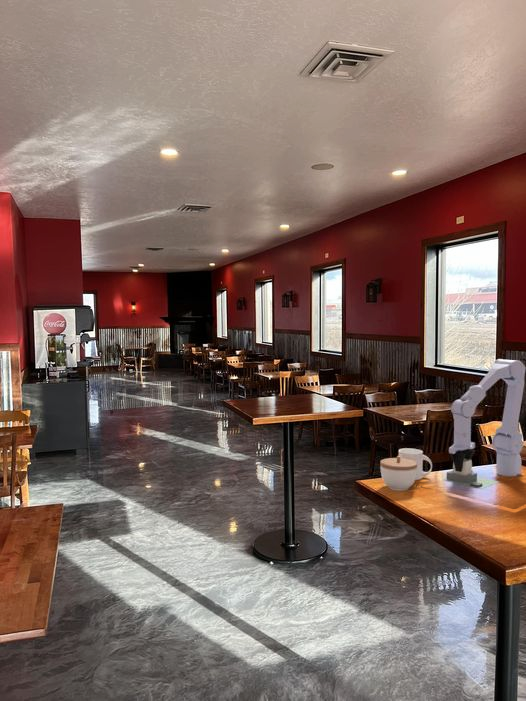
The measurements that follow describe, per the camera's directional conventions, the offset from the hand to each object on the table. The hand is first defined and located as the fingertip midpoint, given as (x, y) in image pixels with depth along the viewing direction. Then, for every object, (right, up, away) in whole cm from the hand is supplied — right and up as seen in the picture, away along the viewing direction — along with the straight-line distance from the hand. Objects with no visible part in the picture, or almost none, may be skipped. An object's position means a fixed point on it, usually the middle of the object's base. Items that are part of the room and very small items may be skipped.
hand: (461, 470), depth 202 cm
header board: (+3, -5, -1) cm, 5 cm away
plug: (+2, -2, +1) cm, 3 cm away
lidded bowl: (-25, -5, -6) cm, 26 cm away
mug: (-16, -5, +4) cm, 17 cm away
